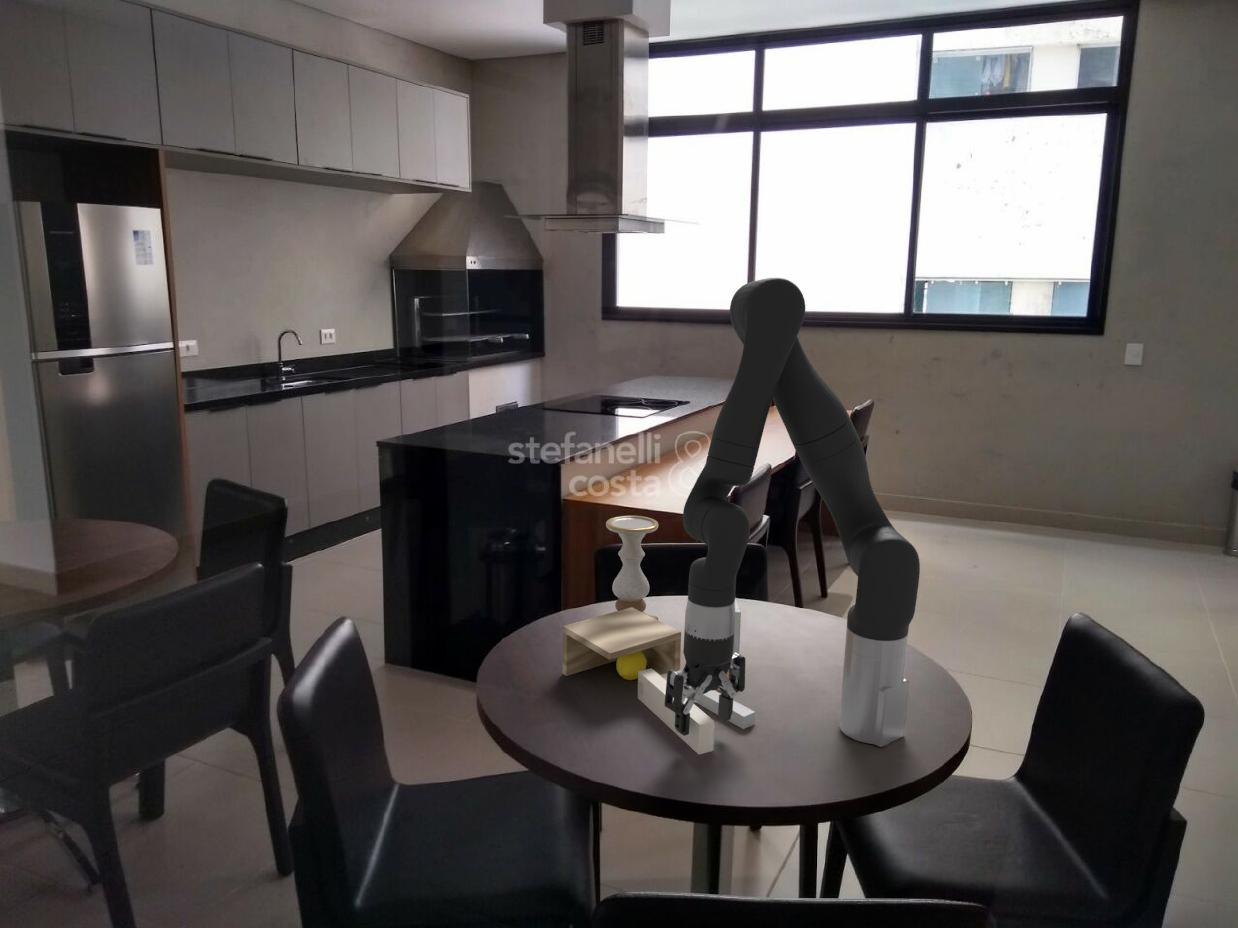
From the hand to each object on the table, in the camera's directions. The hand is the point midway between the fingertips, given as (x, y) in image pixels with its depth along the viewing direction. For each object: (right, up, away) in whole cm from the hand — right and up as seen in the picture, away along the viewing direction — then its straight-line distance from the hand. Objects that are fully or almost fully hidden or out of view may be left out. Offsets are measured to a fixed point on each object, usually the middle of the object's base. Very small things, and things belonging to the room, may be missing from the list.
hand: (703, 725), depth 136 cm
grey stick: (+3, -1, +11) cm, 12 cm away
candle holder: (-11, +6, +39) cm, 41 cm away
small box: (+6, +4, +31) cm, 32 cm away
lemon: (-11, +2, +22) cm, 25 cm away
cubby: (-13, +2, +22) cm, 26 cm away
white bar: (-2, -1, +8) cm, 8 cm away
